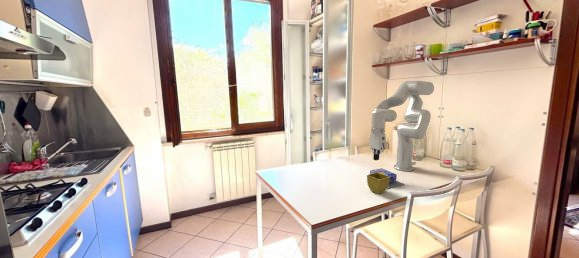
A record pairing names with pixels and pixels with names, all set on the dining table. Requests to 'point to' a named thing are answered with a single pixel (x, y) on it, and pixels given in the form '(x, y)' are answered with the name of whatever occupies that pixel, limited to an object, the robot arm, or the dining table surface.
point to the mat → (395, 184)
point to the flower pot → (377, 182)
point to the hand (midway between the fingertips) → (376, 159)
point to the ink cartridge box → (385, 172)
